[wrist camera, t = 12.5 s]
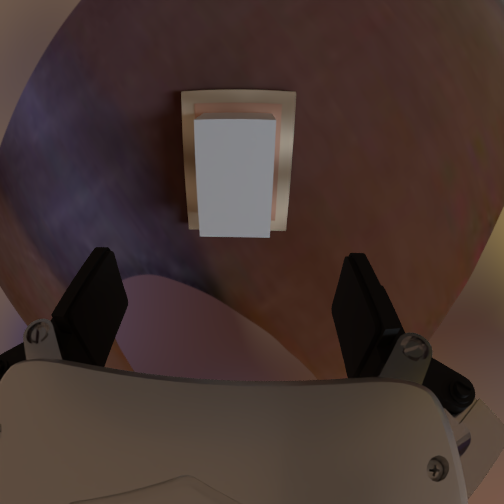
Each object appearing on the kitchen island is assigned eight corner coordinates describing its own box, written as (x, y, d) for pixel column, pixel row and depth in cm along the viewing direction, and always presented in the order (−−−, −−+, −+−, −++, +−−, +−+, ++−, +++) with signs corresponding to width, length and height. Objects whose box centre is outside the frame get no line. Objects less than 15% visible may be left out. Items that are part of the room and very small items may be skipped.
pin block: (184, 91, 23) (174, 93, 20) (294, 91, 23) (300, 93, 20) (191, 223, 31) (184, 241, 28) (284, 225, 31) (288, 243, 28)
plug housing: (203, 112, 23) (194, 119, 20) (272, 113, 23) (276, 120, 20) (206, 213, 29) (200, 236, 25) (267, 214, 29) (269, 237, 25)
